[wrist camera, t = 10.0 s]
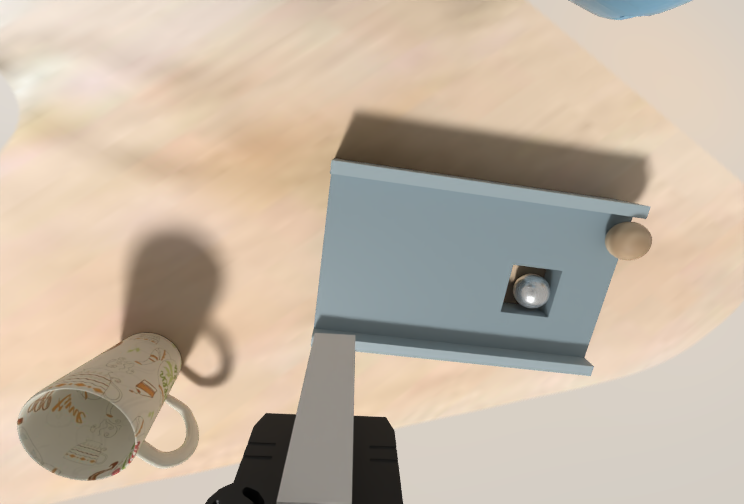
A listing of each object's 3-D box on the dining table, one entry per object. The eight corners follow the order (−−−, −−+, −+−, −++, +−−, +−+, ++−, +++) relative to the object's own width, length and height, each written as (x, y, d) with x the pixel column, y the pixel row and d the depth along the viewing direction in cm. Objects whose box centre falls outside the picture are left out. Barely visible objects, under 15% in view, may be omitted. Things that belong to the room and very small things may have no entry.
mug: (142, 304, 35) (60, 365, 25) (244, 385, 38) (206, 467, 28) (89, 359, 36) (-8, 437, 26) (191, 432, 39) (138, 527, 29)
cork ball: (603, 216, 32) (629, 223, 28) (637, 220, 32) (668, 229, 29) (591, 251, 32) (616, 262, 29) (625, 255, 33) (653, 267, 30)
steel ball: (556, 285, 32) (555, 276, 35) (517, 273, 33) (520, 266, 36) (544, 318, 33) (544, 306, 36) (507, 305, 34) (510, 295, 37)
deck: (334, 158, 32) (331, 160, 28) (617, 199, 34) (650, 206, 30) (315, 325, 36) (310, 346, 32) (566, 352, 38) (590, 375, 34)
